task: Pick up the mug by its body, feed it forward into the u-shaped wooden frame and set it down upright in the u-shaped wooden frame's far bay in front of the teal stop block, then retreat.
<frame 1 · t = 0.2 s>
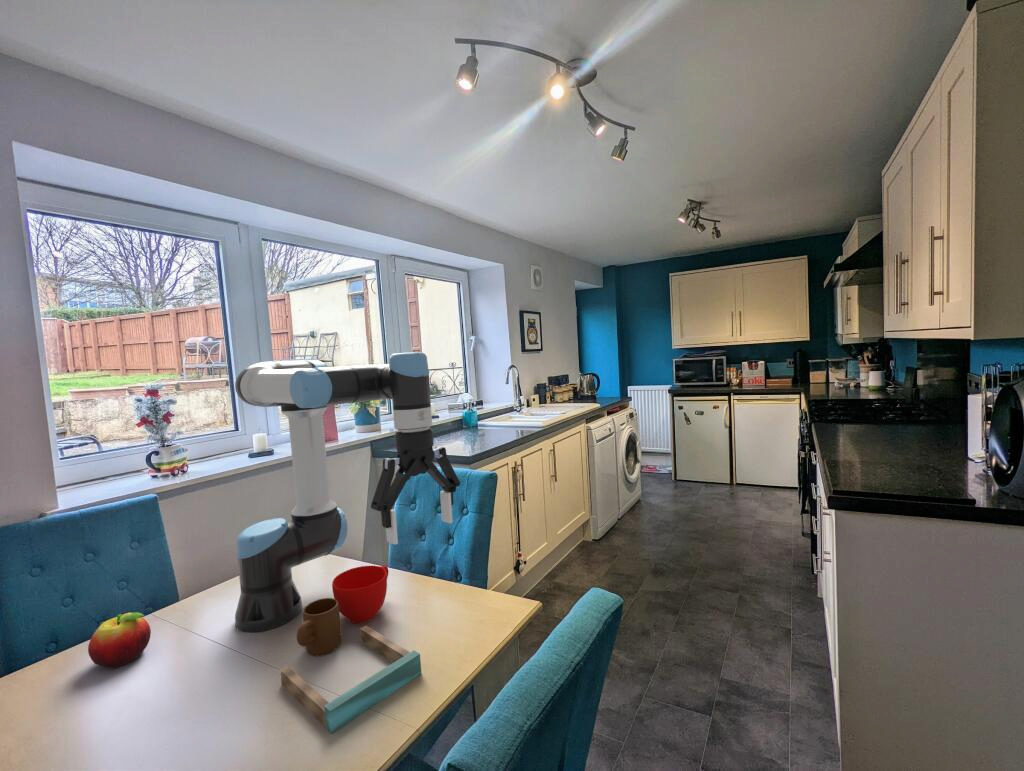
hand: (421, 531, 96), 28 cm above the table, fingers open, 13 cm apart
u-shaped wooden frame: (349, 676, 94), on the table
red bowl: (368, 612, 119), on the table
fruit: (123, 660, 105), on the table
mug: (318, 653, 103), on the table
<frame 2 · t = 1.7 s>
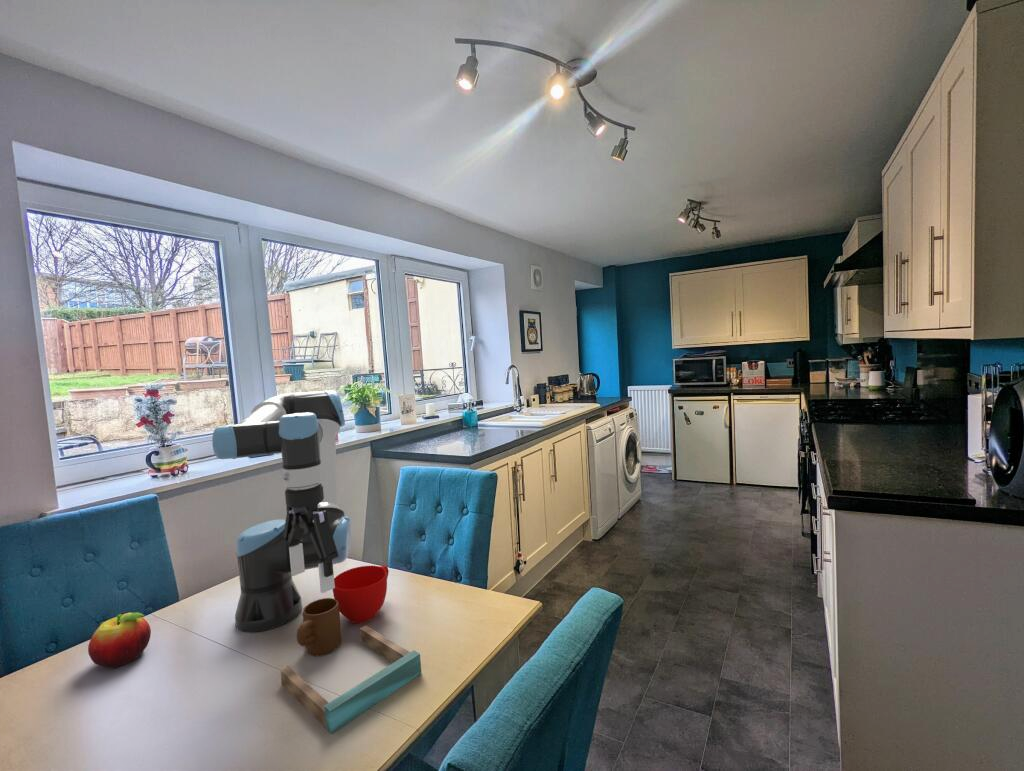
hand: (312, 581, 102), 16 cm above the table, fingers open, 13 cm apart
nothing on the table moved.
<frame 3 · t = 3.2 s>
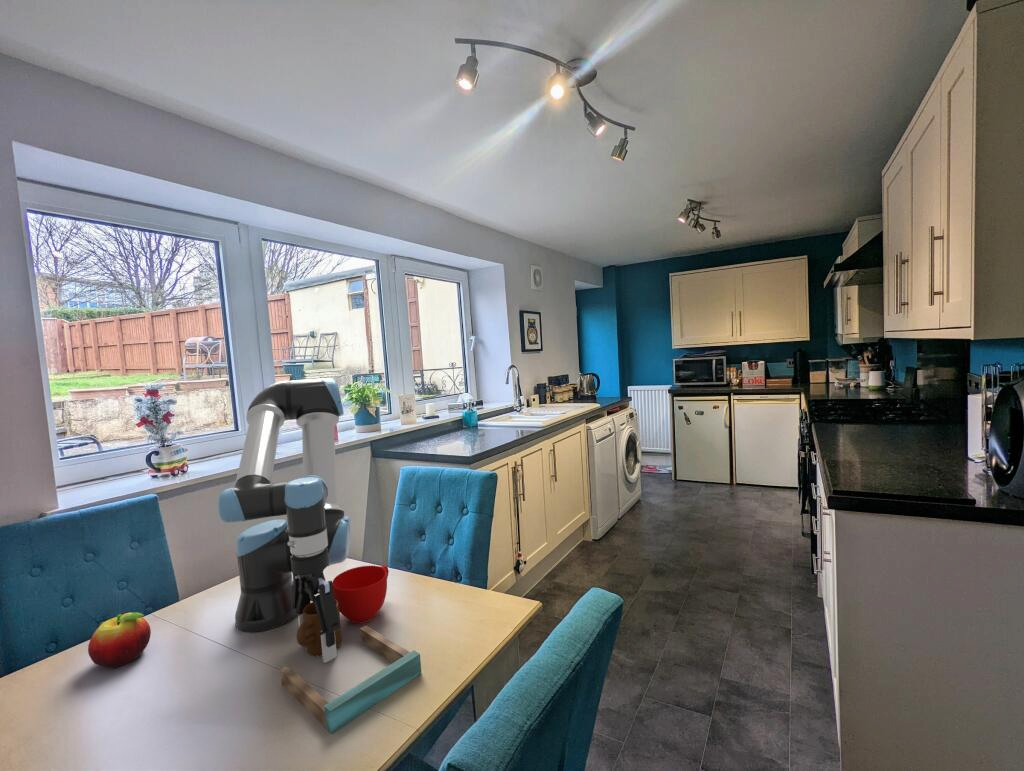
hand: (318, 649, 103), 1 cm above the table, fingers open, 10 cm apart
mug: (318, 653, 103), on the table, touching gripper
everything else where it was.
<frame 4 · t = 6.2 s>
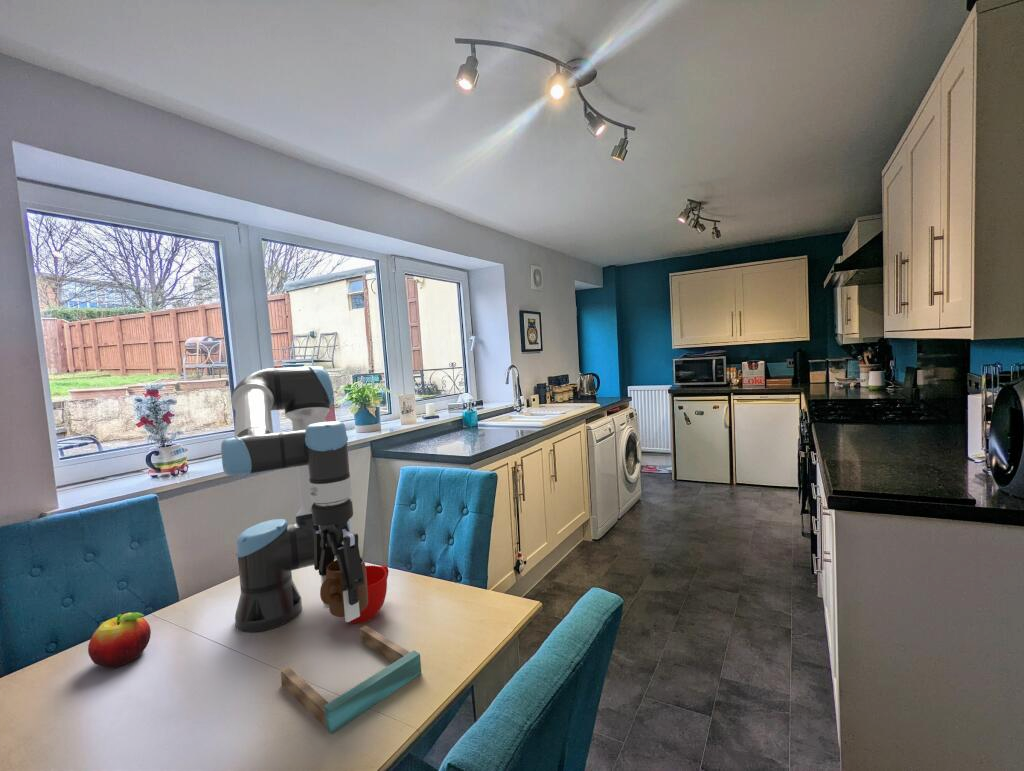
hand: (341, 611, 94), 13 cm above the table, fingers closed on mug, 8 cm apart
mug: (343, 615, 93), point 13 cm above the table, touching gripper
everything else where it was.
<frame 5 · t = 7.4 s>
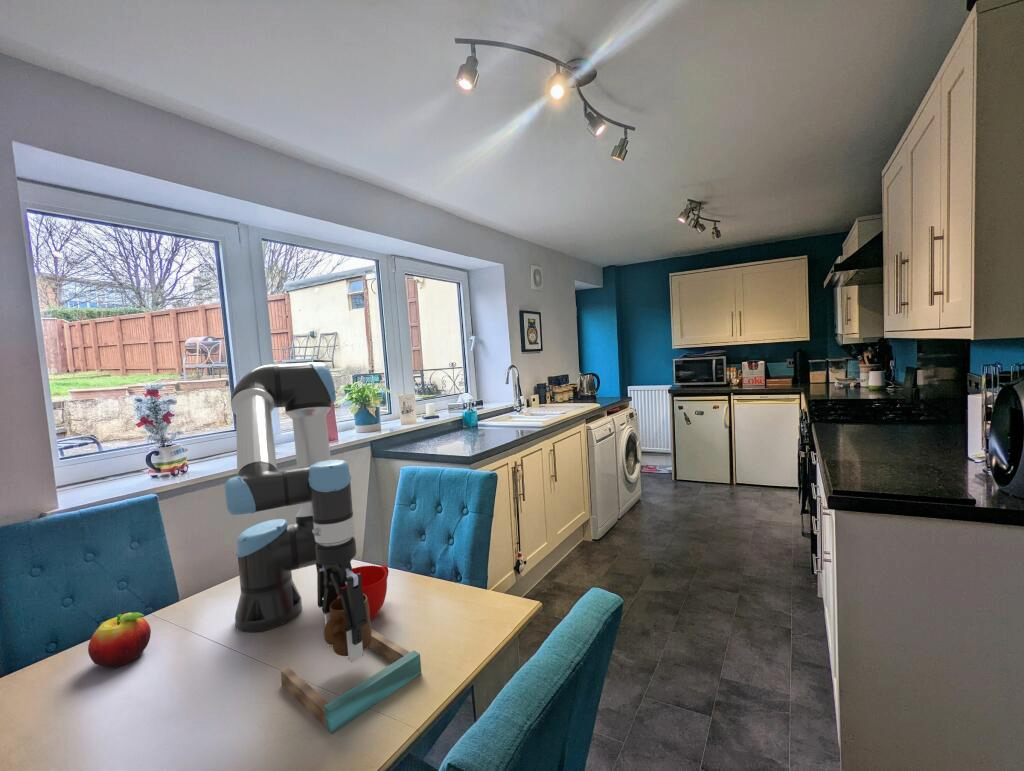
hand: (344, 649, 94), 5 cm above the table, fingers closed on mug, 8 cm apart
mug: (346, 653, 94), point 5 cm above the table, touching gripper
everything else where it was.
when the fingers open (2 cm above the table, at t = 8.6 s): mug drops 1 cm, on the table.
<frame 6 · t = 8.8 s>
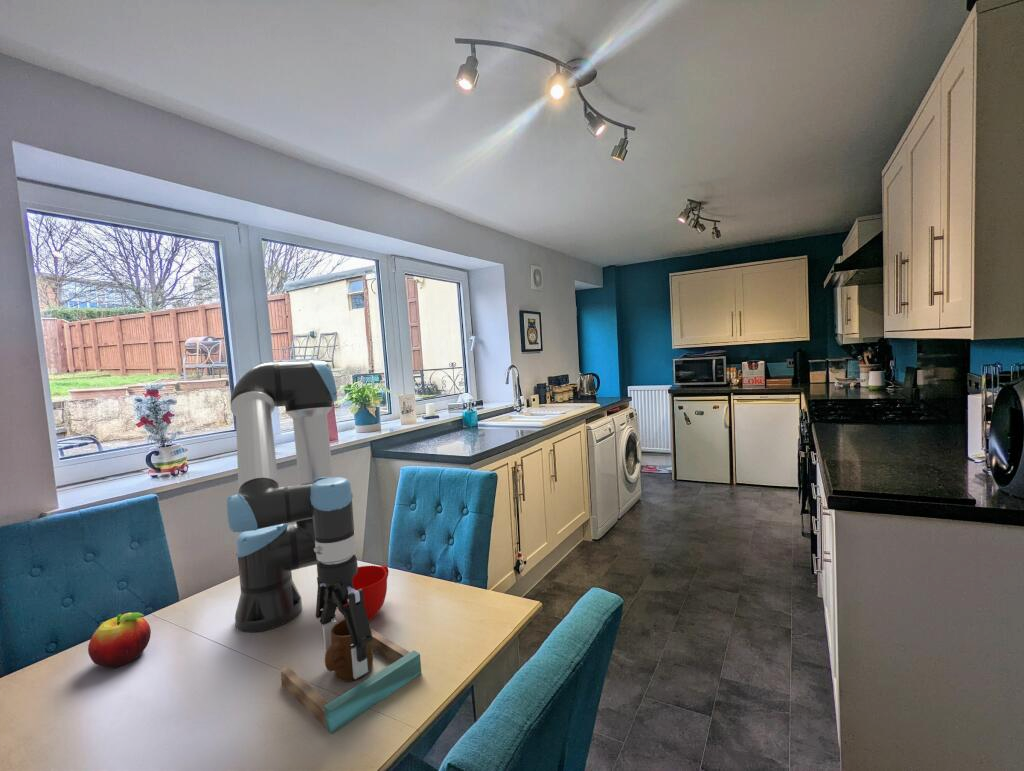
hand: (345, 663, 95), 2 cm above the table, fingers open, 10 cm apart
mug: (348, 678, 94), on the table
everything else where it was.
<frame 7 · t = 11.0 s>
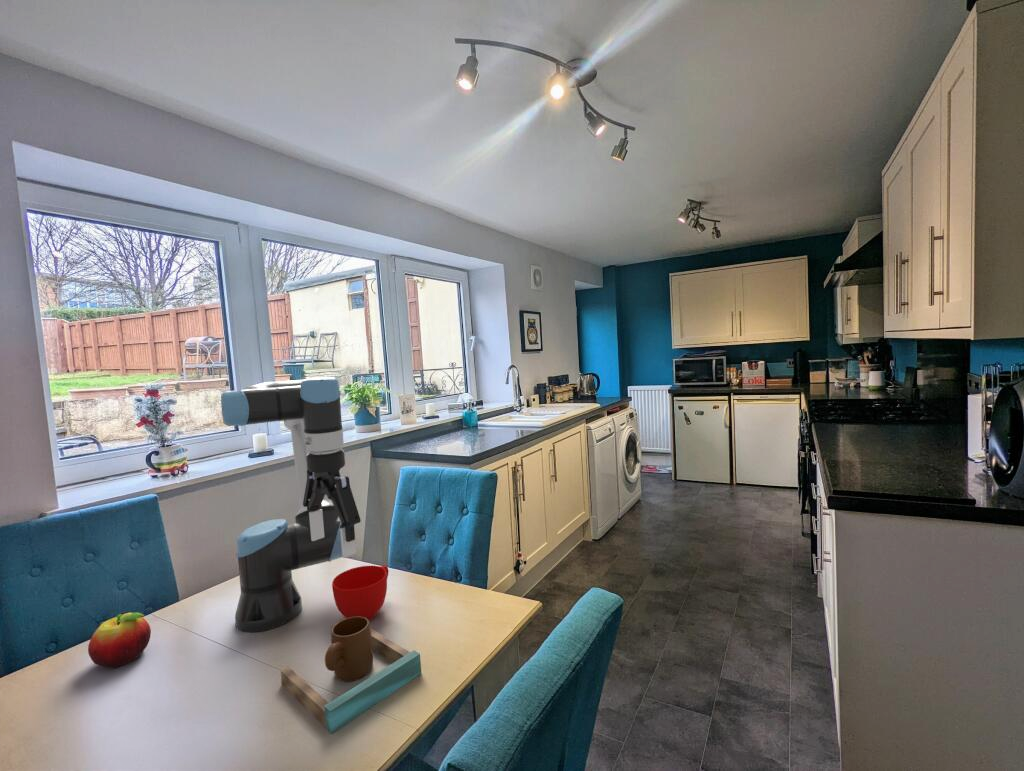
hand: (332, 546, 101), 24 cm above the table, fingers open, 13 cm apart
nothing on the table moved.
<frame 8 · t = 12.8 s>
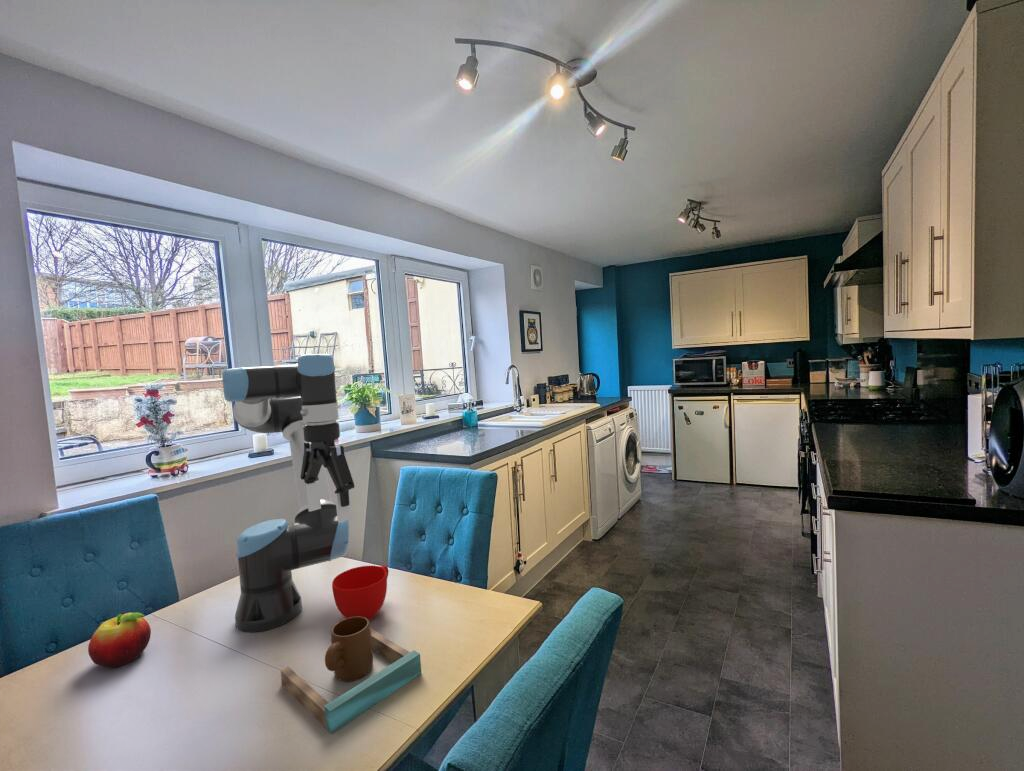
hand: (328, 515, 107), 29 cm above the table, fingers open, 13 cm apart
nothing on the table moved.
at the end: mug inside the target area (0.4 cm from its centre), on the table; mug tilted 0°; the gripper is holding nothing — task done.
